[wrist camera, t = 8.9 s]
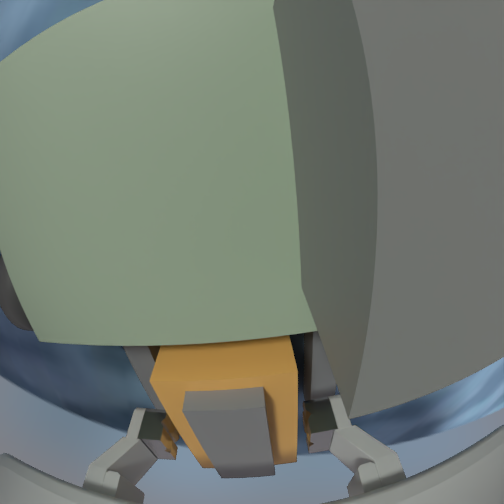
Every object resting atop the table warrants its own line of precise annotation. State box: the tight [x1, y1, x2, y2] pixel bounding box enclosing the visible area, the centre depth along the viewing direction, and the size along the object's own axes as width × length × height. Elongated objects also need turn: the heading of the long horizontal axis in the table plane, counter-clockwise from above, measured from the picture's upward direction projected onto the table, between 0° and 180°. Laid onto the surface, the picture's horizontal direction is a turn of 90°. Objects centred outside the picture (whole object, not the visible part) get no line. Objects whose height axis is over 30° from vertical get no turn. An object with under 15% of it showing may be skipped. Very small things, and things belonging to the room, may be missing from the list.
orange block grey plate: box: [150, 335, 298, 478], centre depth 11 cm, size 4×7×6 cm, turn 6°
